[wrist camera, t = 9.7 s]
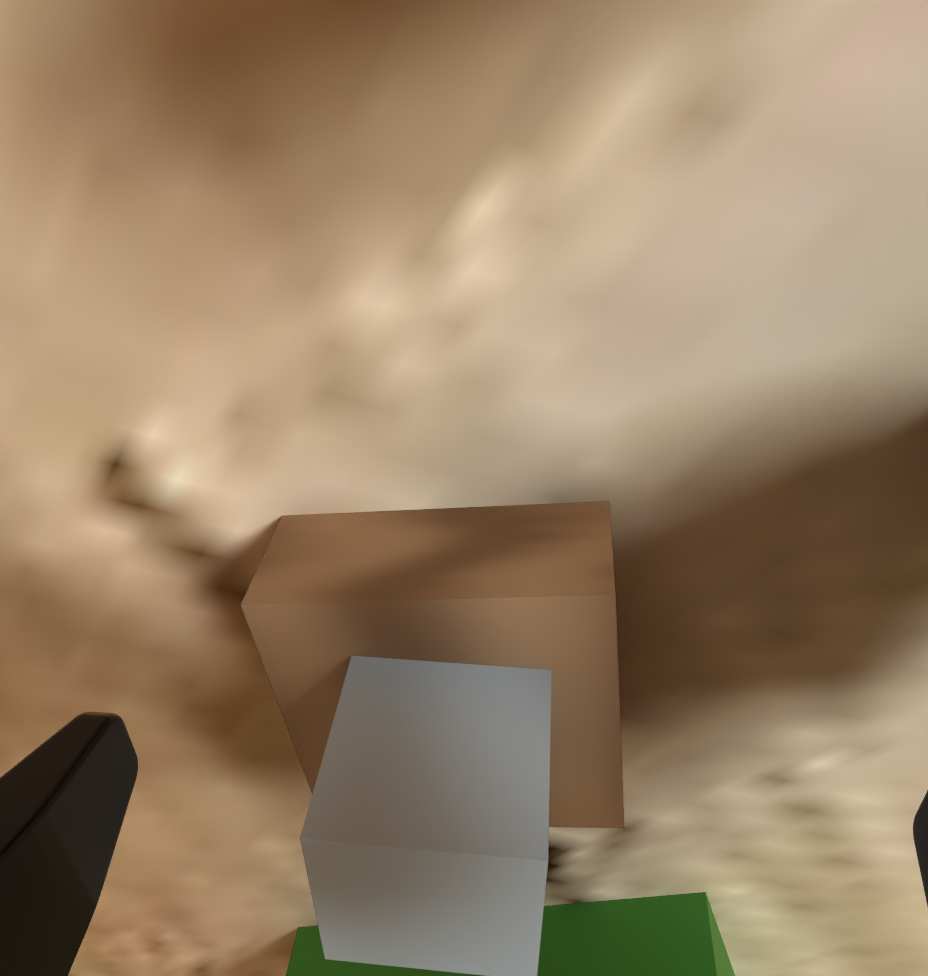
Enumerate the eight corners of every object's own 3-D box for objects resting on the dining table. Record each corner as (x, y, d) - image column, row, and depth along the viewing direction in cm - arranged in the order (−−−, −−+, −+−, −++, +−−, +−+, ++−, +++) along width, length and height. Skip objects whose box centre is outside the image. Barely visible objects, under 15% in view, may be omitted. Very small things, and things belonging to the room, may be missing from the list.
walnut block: (608, 492, 22) (615, 594, 19) (617, 716, 27) (624, 828, 24) (285, 507, 24) (240, 605, 20) (351, 718, 29) (323, 823, 25)
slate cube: (551, 669, 20) (548, 860, 16) (541, 792, 23) (536, 981, 19) (351, 655, 21) (300, 838, 17) (366, 778, 24) (325, 958, 20)
